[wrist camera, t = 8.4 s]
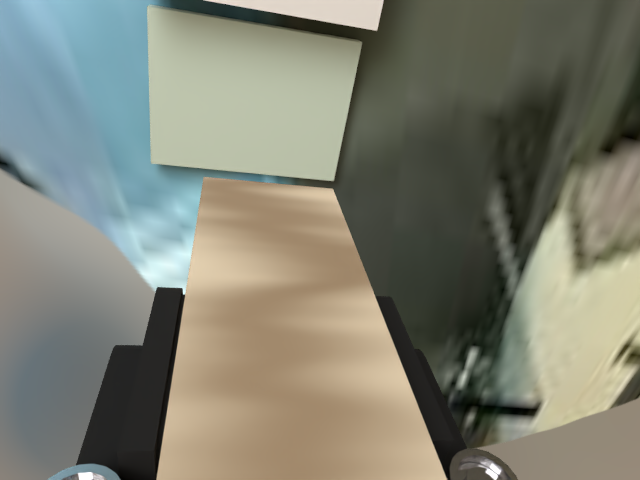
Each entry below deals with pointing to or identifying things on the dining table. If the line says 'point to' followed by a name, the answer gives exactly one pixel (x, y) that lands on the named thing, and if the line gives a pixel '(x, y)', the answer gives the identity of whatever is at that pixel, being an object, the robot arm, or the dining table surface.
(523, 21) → the dining table surface
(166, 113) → the mat
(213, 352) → the plug
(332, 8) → the socket block
